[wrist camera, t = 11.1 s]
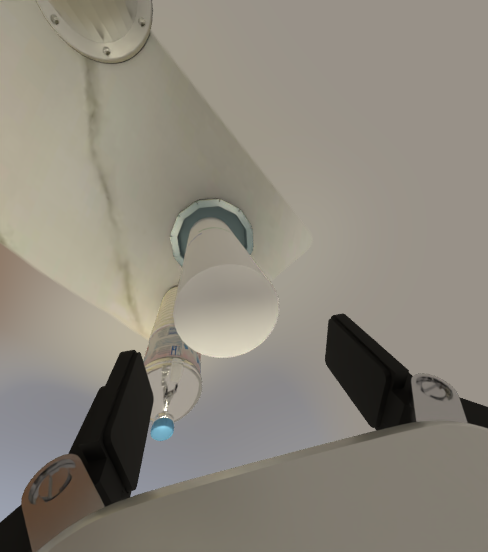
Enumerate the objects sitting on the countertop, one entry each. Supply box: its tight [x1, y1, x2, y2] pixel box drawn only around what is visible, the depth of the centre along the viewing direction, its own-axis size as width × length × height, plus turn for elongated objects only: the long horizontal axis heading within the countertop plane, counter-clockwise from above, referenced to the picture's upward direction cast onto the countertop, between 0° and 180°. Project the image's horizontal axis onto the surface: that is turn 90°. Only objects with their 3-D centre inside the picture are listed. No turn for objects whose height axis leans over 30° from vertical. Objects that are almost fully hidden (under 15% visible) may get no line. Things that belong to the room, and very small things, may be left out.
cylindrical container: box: [173, 217, 279, 358], centre depth 27 cm, size 7×7×25 cm
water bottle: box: [143, 286, 202, 441], centre depth 31 cm, size 7×7×25 cm
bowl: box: [170, 198, 253, 266], centre depth 38 cm, size 13×13×3 cm
